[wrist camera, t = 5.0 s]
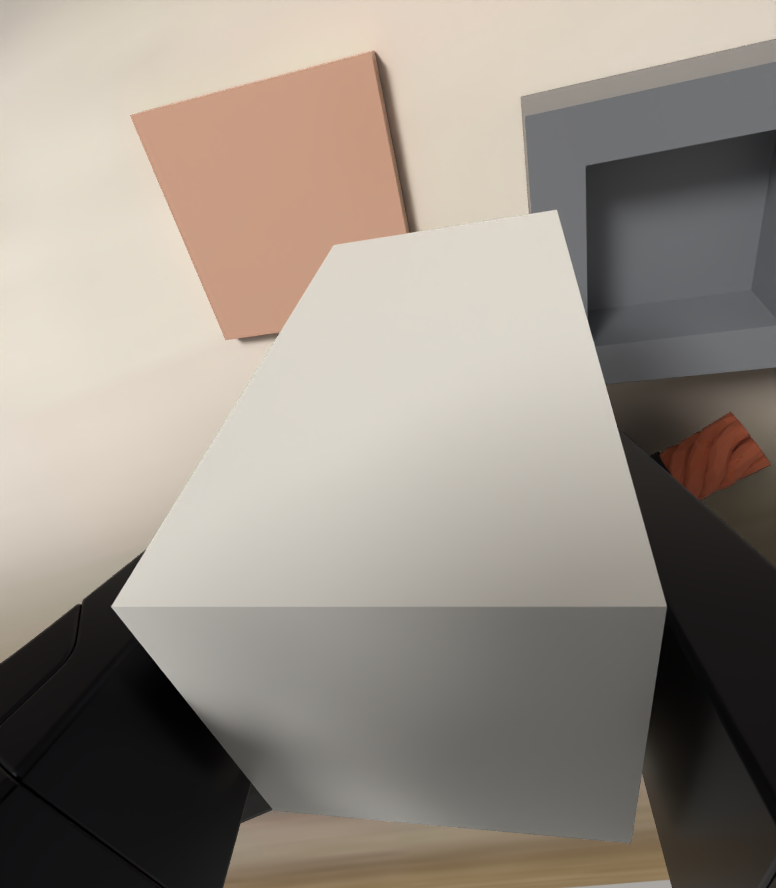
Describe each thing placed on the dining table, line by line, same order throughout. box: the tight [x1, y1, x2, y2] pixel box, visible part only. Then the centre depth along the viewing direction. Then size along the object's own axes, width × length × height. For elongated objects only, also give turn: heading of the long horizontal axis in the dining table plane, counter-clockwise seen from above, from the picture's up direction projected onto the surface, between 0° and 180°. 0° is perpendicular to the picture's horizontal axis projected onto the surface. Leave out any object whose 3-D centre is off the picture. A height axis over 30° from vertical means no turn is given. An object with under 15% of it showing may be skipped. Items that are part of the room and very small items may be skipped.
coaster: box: [130, 51, 410, 340], centre depth 20 cm, size 8×8×1 cm
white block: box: [111, 210, 667, 843], centre depth 8 cm, size 4×4×8 cm
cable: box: [241, 412, 771, 823], centre depth 27 cm, size 10×34×10 cm, turn 131°
